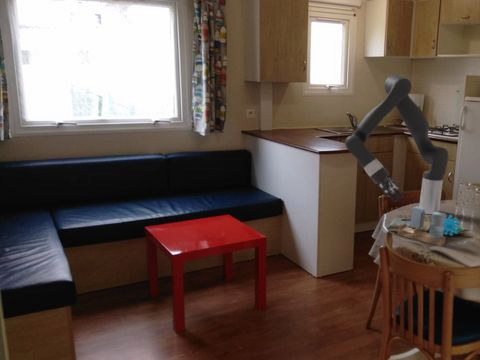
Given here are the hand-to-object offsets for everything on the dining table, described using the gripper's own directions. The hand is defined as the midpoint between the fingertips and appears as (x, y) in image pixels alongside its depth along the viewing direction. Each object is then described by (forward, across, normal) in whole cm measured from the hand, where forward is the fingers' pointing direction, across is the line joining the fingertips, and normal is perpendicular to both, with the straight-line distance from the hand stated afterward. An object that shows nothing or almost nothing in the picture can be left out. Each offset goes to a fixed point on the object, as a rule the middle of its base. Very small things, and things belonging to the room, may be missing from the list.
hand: (399, 199), depth 198 cm
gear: (+24, +3, -6) cm, 25 cm away
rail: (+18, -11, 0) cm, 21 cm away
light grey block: (+15, 0, +3) cm, 15 cm away
